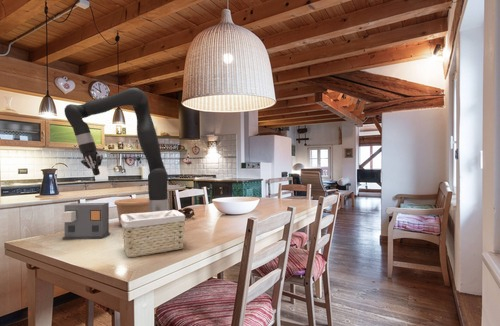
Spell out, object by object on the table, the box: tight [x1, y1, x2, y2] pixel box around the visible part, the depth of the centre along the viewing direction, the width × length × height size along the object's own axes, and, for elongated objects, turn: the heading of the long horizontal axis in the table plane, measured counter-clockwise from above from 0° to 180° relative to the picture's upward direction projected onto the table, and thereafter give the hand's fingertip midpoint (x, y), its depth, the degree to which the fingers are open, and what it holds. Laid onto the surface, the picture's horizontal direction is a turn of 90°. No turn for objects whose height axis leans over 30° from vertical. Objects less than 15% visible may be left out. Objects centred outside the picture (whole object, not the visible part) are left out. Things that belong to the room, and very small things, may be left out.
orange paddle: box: [91, 210, 101, 220], centre depth 138 cm, size 5×4×4 cm
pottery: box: [114, 197, 149, 228], centre depth 167 cm, size 22×22×14 cm
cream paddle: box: [61, 211, 77, 223], centre depth 133 cm, size 5×4×4 cm
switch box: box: [62, 202, 111, 240], centre depth 139 cm, size 8×18×16 cm, turn 94°
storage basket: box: [120, 209, 186, 258], centre depth 118 cm, size 24×16×15 cm
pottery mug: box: [177, 207, 195, 220], centre depth 184 cm, size 12×10×8 cm
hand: (97, 175), depth 148 cm, fingers closed
